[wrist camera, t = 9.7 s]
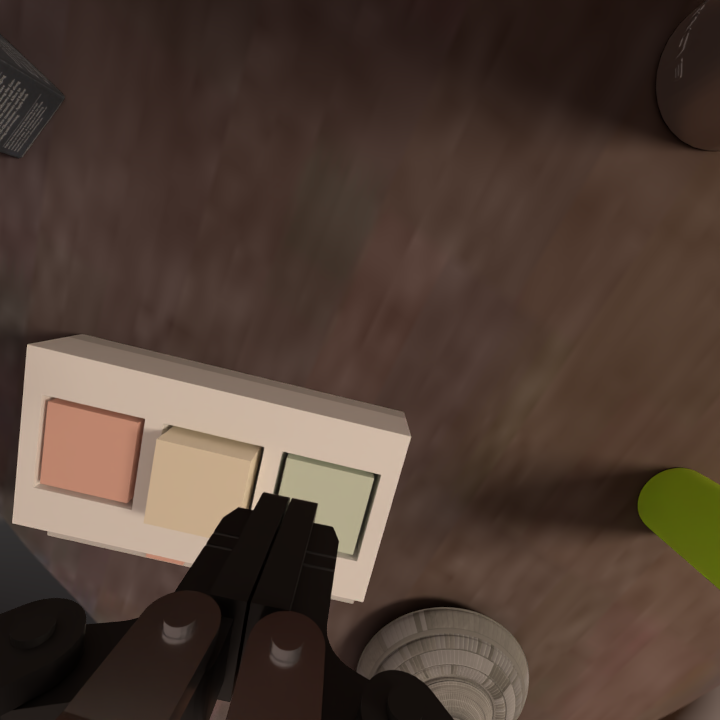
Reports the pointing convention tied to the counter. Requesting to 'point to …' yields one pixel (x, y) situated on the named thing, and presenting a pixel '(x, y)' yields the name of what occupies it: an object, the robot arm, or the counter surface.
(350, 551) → the sage key
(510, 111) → the counter surface
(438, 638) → the flying saucer
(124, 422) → the coral key
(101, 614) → the counter surface
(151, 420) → the keypad
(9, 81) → the box
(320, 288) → the counter surface
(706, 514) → the soap dispenser
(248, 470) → the sand key
